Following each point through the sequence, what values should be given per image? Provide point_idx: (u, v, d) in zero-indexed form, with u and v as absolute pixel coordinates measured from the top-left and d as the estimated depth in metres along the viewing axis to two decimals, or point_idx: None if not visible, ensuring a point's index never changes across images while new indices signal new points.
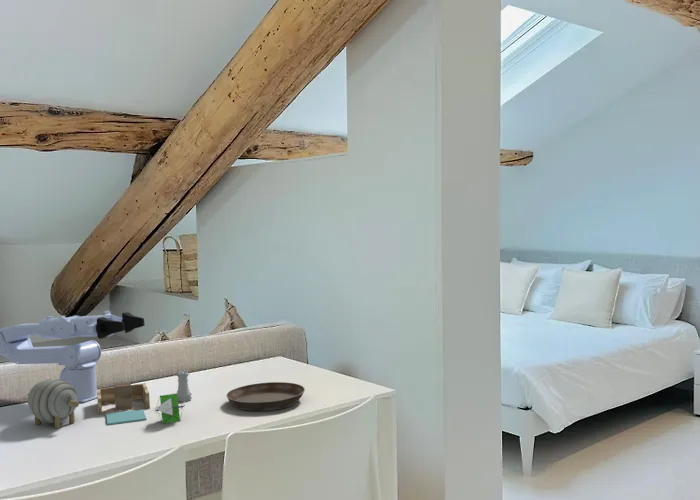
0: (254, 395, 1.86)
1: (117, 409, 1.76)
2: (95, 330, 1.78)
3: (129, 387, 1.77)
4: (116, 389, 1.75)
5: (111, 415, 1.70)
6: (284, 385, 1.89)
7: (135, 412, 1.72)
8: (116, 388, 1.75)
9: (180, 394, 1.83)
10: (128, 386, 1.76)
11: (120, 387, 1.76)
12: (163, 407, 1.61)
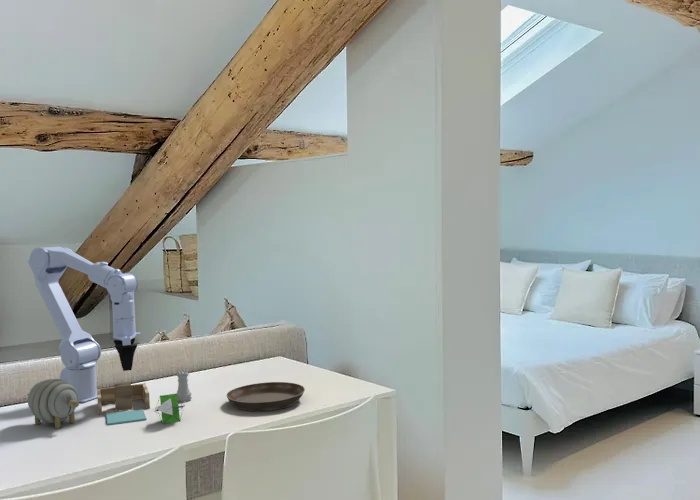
0: (254, 395, 1.86)
1: (117, 409, 1.76)
2: (124, 345, 1.77)
3: (129, 387, 1.77)
4: (116, 389, 1.75)
5: (111, 415, 1.70)
6: (284, 385, 1.89)
7: (135, 412, 1.72)
8: (116, 388, 1.75)
9: (180, 394, 1.83)
10: (128, 386, 1.76)
11: (120, 387, 1.76)
12: (163, 407, 1.61)
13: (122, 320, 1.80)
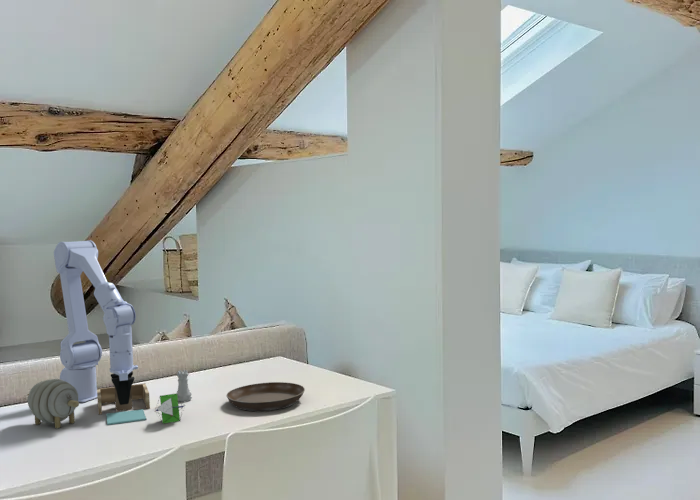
0: (254, 395, 1.86)
1: (117, 409, 1.76)
2: None
3: None
4: None
5: (111, 415, 1.70)
6: (284, 385, 1.89)
7: (135, 412, 1.72)
8: None
9: (180, 394, 1.83)
10: None
11: None
12: (163, 407, 1.61)
13: (119, 354, 1.75)
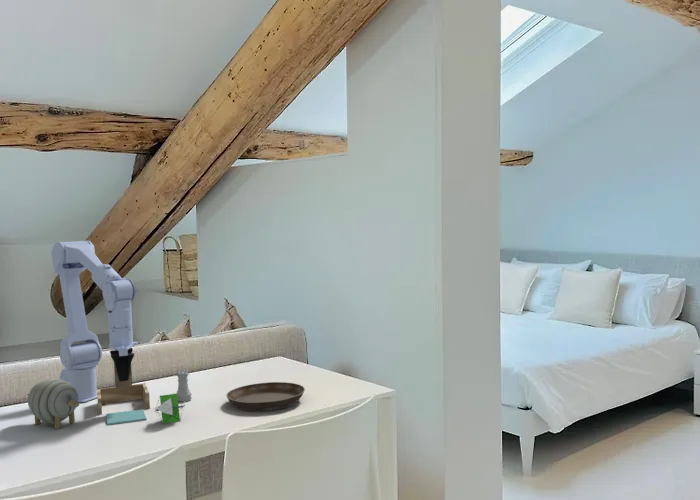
0: (254, 395, 1.86)
1: (117, 386, 1.72)
2: (121, 355, 1.68)
3: None
4: None
5: (111, 415, 1.70)
6: (284, 385, 1.89)
7: (135, 412, 1.72)
8: None
9: (180, 394, 1.83)
10: None
11: None
12: (163, 407, 1.61)
13: (118, 329, 1.71)
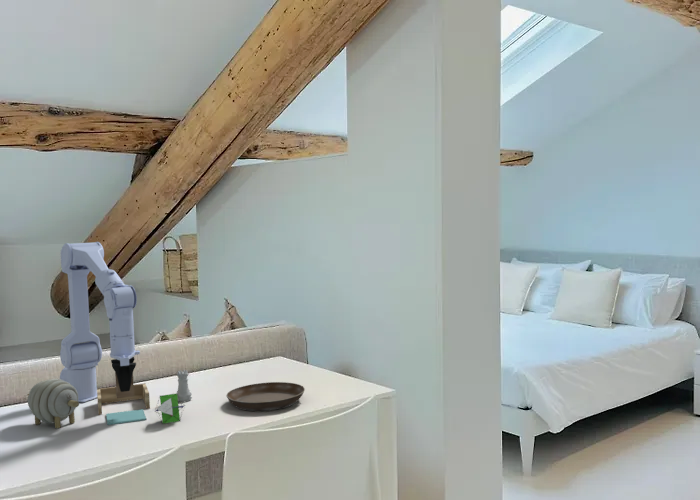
0: (254, 395, 1.86)
1: (118, 396, 1.67)
2: None
3: None
4: None
5: (111, 415, 1.70)
6: (284, 385, 1.89)
7: (135, 412, 1.72)
8: None
9: (180, 394, 1.83)
10: None
11: None
12: (163, 407, 1.61)
13: (120, 338, 1.66)
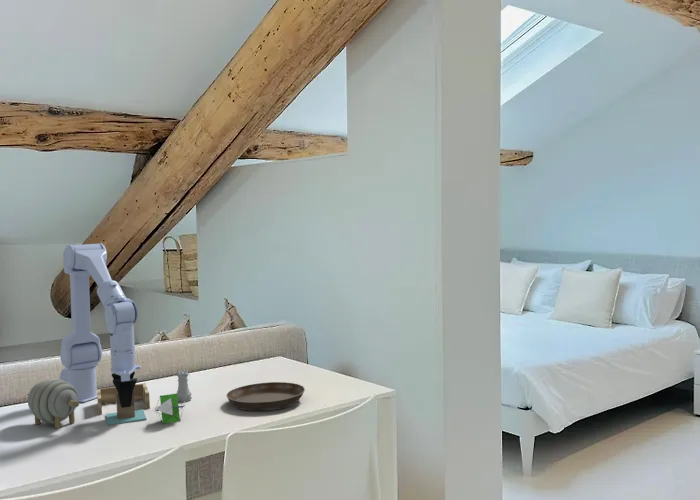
0: (254, 395, 1.86)
1: (119, 417, 1.67)
2: (123, 380, 1.63)
3: None
4: (118, 396, 1.67)
5: (111, 415, 1.70)
6: (284, 385, 1.89)
7: (135, 412, 1.72)
8: (118, 395, 1.67)
9: (180, 394, 1.83)
10: None
11: None
12: (163, 407, 1.61)
13: (121, 353, 1.66)
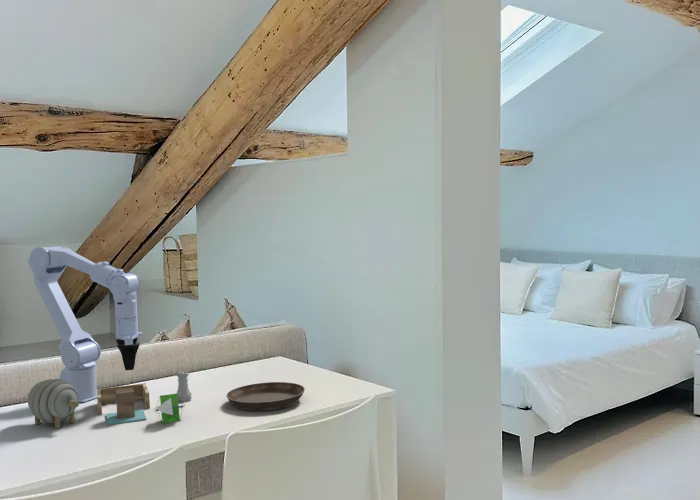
0: (254, 395, 1.86)
1: (119, 417, 1.67)
2: (127, 344, 1.78)
3: (131, 394, 1.68)
4: (118, 396, 1.67)
5: (111, 415, 1.70)
6: (284, 385, 1.89)
7: (135, 412, 1.72)
8: (118, 395, 1.67)
9: (180, 394, 1.83)
10: (130, 393, 1.68)
11: (122, 394, 1.67)
12: (163, 407, 1.61)
13: (124, 320, 1.81)
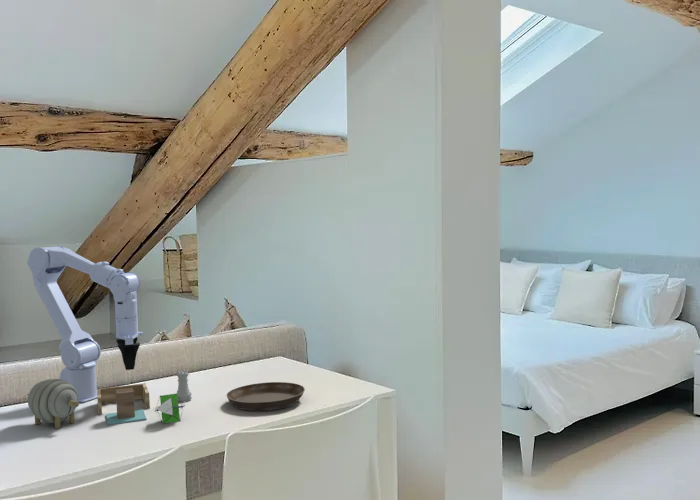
0: (254, 395, 1.86)
1: (119, 417, 1.67)
2: None
3: (131, 394, 1.68)
4: (118, 396, 1.67)
5: (111, 415, 1.70)
6: (284, 385, 1.89)
7: (135, 412, 1.72)
8: (118, 395, 1.67)
9: (180, 394, 1.83)
10: (130, 393, 1.68)
11: (122, 394, 1.67)
12: (163, 407, 1.61)
13: (125, 319, 1.81)
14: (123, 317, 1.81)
